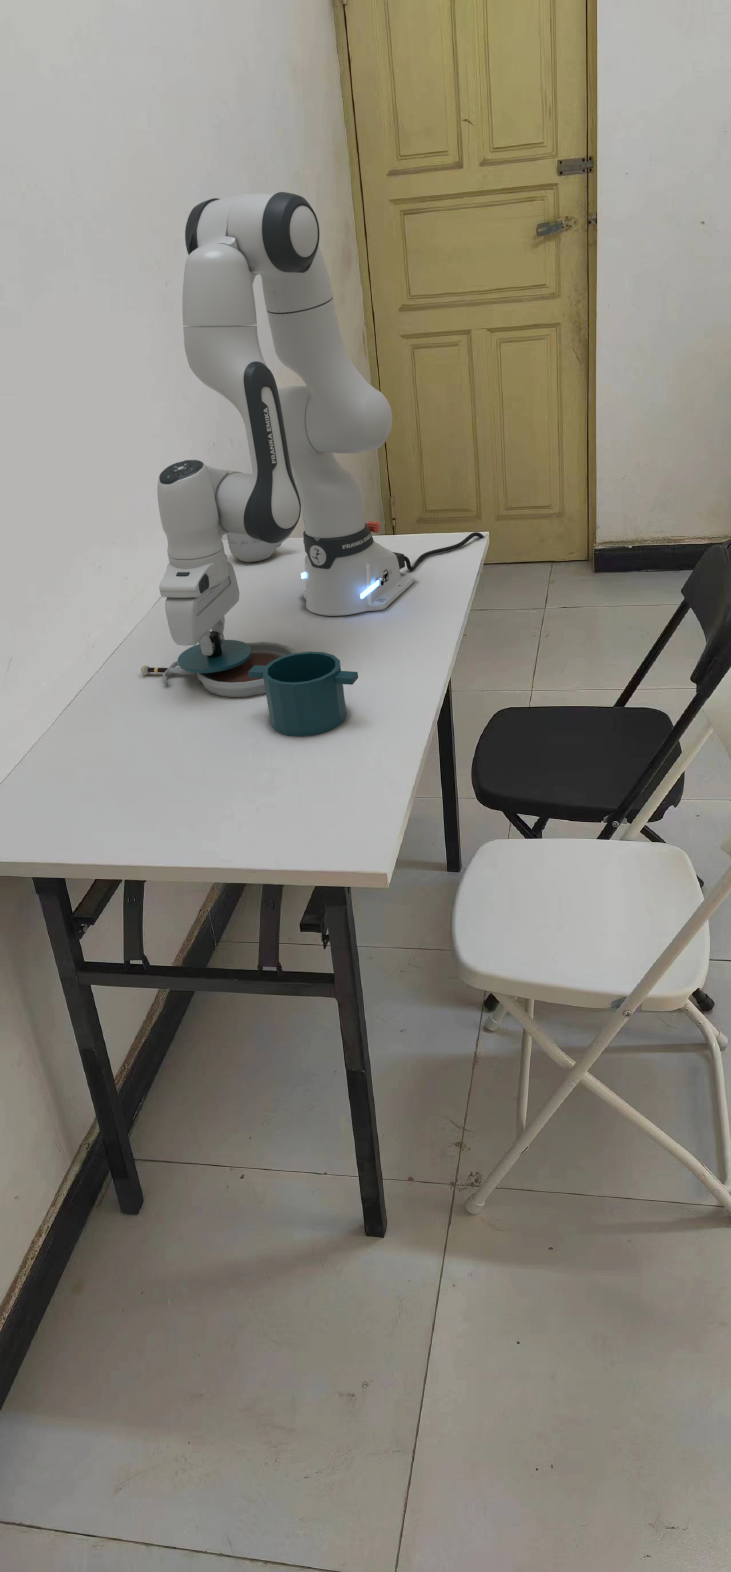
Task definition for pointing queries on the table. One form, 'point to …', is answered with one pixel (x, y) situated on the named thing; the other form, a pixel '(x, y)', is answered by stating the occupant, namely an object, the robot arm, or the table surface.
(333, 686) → the pot
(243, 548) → the teacup
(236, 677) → the frying pan
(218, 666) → the lid
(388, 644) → the table surface
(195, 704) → the table surface
